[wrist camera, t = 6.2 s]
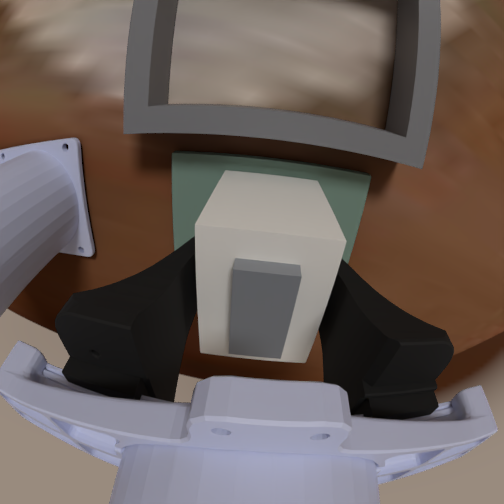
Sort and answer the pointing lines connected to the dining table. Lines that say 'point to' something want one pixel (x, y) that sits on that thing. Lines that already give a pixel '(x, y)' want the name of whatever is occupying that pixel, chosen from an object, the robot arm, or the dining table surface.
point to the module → (264, 266)
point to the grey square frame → (283, 121)
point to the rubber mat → (214, 165)
